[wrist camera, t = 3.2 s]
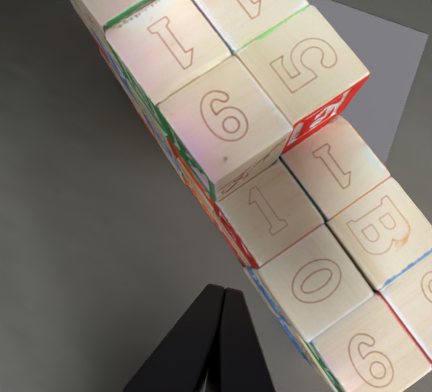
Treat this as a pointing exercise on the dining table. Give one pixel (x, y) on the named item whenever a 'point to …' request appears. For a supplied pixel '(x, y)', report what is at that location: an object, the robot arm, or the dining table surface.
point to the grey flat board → (377, 70)
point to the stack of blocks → (283, 173)
